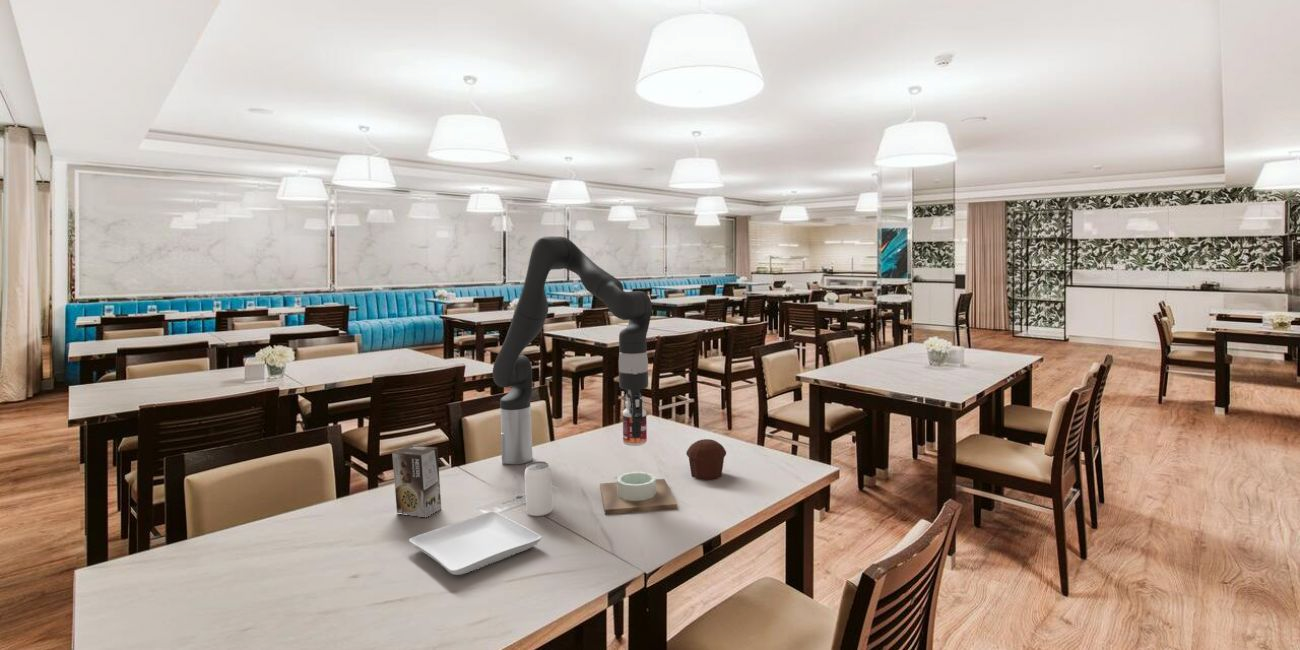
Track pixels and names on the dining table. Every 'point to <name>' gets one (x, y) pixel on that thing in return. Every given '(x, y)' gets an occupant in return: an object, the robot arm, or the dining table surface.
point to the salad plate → (475, 542)
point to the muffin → (706, 459)
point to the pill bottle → (627, 428)
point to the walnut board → (620, 505)
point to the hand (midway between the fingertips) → (634, 432)
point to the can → (538, 489)
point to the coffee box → (417, 480)
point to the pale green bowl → (636, 486)
